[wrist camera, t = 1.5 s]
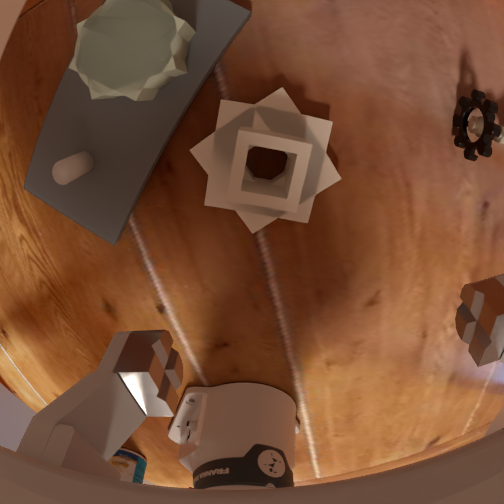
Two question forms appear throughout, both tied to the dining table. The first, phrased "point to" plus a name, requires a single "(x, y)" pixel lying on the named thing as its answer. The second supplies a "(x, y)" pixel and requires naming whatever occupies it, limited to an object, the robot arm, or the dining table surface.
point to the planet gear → (274, 137)
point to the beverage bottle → (129, 465)
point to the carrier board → (125, 103)
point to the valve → (477, 126)
